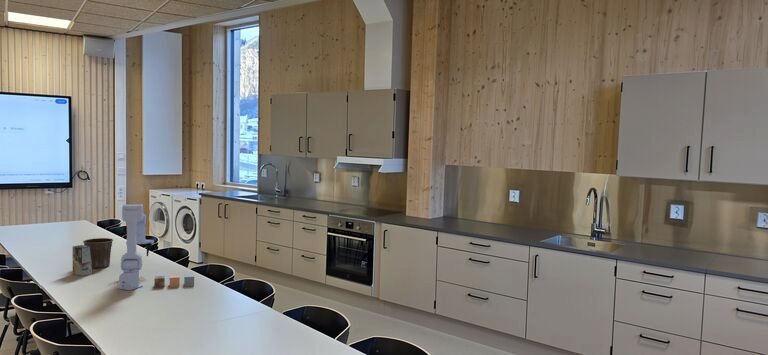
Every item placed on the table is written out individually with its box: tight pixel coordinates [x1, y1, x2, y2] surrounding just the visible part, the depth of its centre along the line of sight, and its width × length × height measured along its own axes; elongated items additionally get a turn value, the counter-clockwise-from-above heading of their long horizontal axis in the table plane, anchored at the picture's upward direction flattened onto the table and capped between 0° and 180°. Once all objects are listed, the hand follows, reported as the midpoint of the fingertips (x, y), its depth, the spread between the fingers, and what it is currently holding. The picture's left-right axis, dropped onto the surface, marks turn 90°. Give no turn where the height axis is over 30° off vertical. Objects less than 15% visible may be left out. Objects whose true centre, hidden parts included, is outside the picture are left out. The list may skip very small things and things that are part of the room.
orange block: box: [169, 274, 181, 288], centre depth 299 cm, size 5×5×5 cm
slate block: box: [183, 274, 195, 287], centre depth 302 cm, size 5×5×5 cm
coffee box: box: [71, 244, 93, 277], centre depth 316 cm, size 9×6×16 cm
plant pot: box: [82, 237, 114, 269], centre depth 335 cm, size 16×16×16 cm
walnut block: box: [153, 275, 166, 289], centre depth 297 cm, size 5×5×5 cm
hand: (140, 255), depth 322 cm, fingers open, 7 cm apart
